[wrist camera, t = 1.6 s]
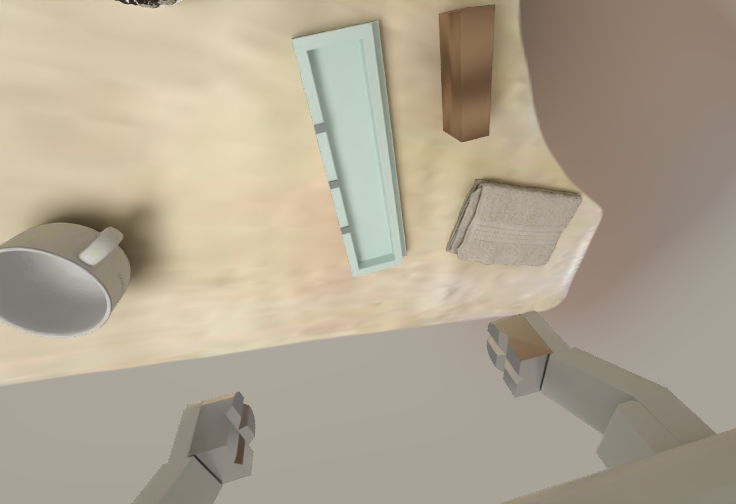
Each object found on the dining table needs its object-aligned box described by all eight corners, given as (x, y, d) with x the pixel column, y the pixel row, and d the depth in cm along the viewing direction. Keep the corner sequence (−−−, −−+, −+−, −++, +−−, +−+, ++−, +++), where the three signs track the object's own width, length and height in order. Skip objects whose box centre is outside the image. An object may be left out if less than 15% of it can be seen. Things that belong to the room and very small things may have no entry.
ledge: (291, 38, 30) (292, 39, 27) (375, 20, 30) (383, 20, 28) (349, 265, 46) (353, 278, 43) (404, 251, 46) (411, 263, 44)
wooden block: (438, 14, 31) (461, 12, 27) (469, 7, 32) (496, 4, 27) (442, 130, 38) (461, 142, 34) (468, 123, 38) (490, 135, 34)
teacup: (87, 301, 40) (49, 354, 34) (-7, 237, 34) (-74, 286, 28) (184, 253, 39) (164, 297, 33) (107, 177, 33) (64, 213, 27)
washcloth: (468, 175, 42) (480, 184, 40) (577, 189, 47) (593, 198, 45) (440, 252, 48) (448, 264, 46) (539, 257, 53) (551, 268, 51)
